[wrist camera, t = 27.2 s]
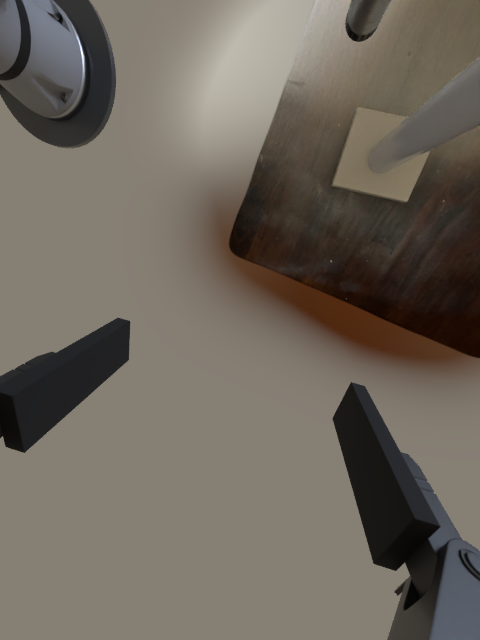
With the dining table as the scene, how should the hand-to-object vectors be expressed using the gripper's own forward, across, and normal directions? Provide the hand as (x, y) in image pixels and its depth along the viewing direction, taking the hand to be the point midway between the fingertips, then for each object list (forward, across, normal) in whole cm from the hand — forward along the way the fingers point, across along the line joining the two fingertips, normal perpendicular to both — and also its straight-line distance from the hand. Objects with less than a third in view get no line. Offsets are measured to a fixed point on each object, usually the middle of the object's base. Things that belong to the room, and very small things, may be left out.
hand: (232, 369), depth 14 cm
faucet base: (+35, +13, +21) cm, 43 cm away
